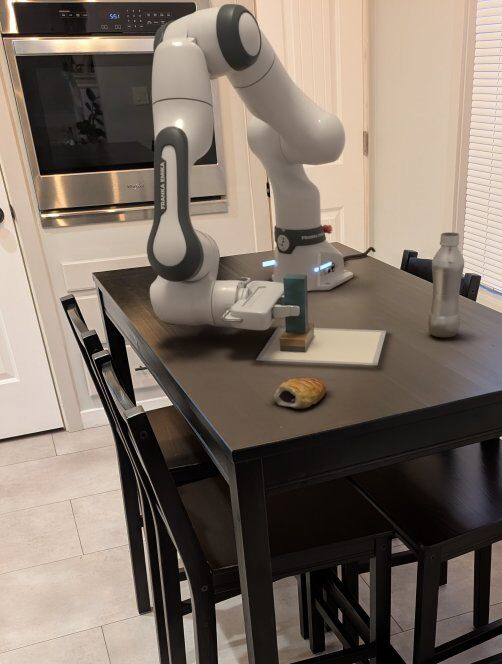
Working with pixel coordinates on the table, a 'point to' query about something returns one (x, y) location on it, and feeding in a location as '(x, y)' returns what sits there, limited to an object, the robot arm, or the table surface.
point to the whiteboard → (330, 347)
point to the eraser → (296, 326)
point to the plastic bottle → (446, 287)
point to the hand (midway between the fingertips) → (302, 306)
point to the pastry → (300, 392)
